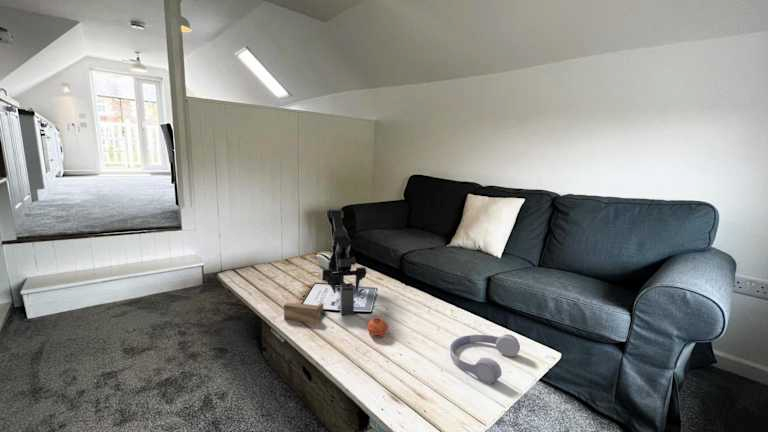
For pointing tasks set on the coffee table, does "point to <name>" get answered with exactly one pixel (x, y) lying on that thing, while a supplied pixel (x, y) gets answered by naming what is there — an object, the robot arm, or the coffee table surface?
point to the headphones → (485, 366)
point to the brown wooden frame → (303, 312)
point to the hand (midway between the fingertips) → (346, 292)
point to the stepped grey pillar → (347, 299)
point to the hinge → (323, 260)
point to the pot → (377, 327)
